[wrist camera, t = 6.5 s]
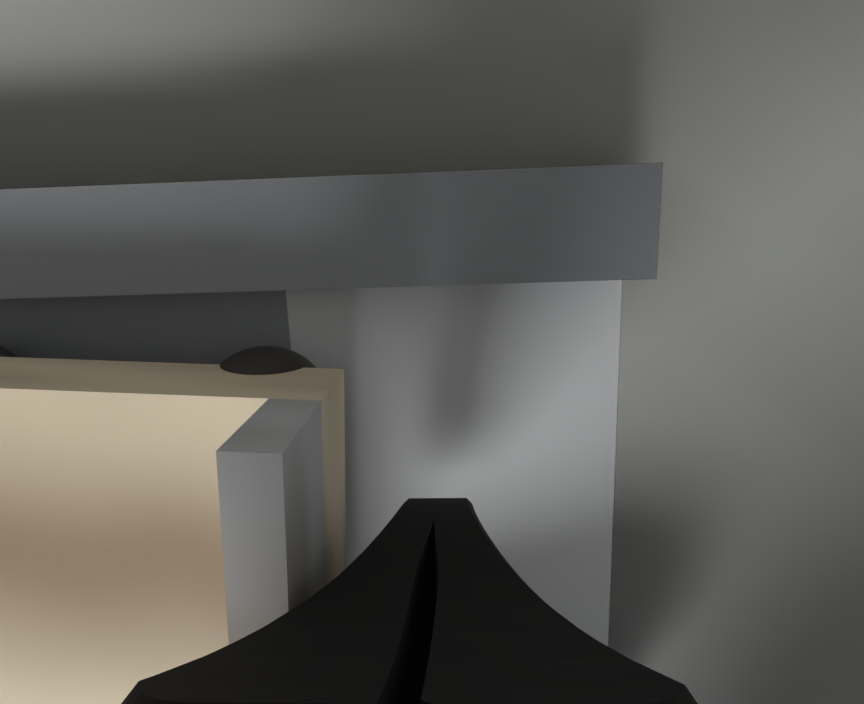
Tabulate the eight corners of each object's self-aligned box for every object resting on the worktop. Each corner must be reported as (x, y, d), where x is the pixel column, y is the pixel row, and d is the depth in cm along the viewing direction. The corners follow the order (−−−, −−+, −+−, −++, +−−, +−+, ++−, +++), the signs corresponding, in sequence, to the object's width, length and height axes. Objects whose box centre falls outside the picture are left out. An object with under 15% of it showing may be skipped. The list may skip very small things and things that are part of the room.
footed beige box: (358, 657, 14) (300, 915, 9) (-17, 635, 14) (-280, 872, 9) (357, 336, 12) (281, 429, 7) (-75, 321, 12) (-442, 401, 7)
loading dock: (601, 707, 16) (669, 951, 11) (-116, 703, 17) (-371, 923, 12) (620, 171, 13) (732, 148, 8) (-266, 206, 14) (-708, 207, 9)
